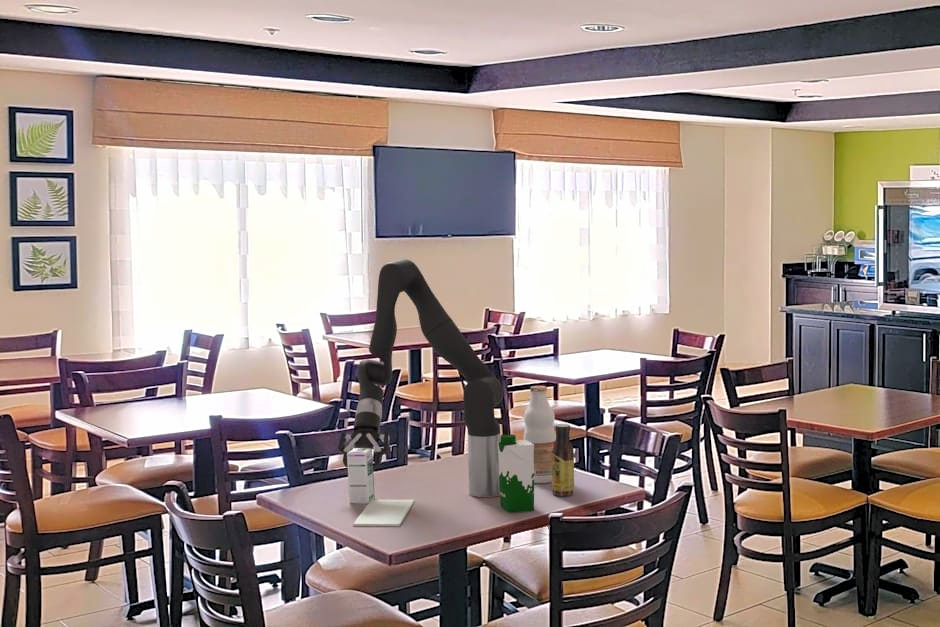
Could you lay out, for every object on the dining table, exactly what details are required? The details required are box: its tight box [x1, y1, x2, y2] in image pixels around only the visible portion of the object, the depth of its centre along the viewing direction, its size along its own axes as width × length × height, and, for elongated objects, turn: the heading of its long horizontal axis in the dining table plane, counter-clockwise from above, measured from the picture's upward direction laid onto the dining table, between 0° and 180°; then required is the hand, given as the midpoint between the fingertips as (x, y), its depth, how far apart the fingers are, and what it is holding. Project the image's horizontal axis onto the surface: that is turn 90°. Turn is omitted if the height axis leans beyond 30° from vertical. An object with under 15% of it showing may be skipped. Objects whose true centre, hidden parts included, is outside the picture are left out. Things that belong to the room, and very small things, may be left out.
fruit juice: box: [523, 385, 556, 484], centre depth 313 cm, size 9×9×28 cm
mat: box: [352, 499, 415, 527], centre depth 281 cm, size 12×24×1 cm, turn 174°
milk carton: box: [497, 433, 535, 514], centre depth 282 cm, size 9×9×20 cm
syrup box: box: [347, 448, 376, 505], centre depth 294 cm, size 6×6×14 cm
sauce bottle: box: [551, 423, 575, 497], centre depth 295 cm, size 6×6×20 cm
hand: (361, 465), depth 295 cm, fingers open, 8 cm apart
